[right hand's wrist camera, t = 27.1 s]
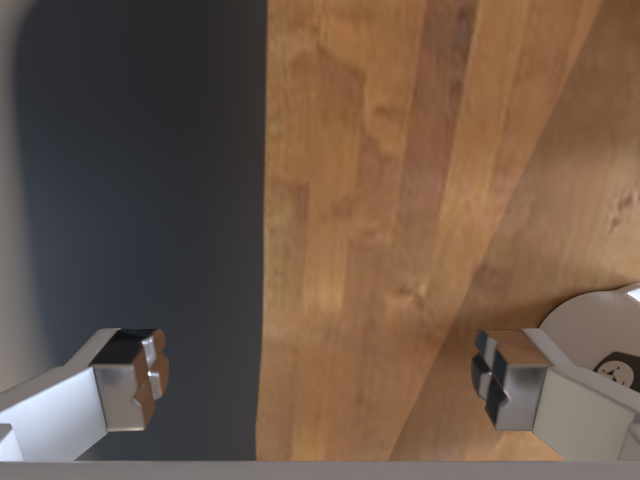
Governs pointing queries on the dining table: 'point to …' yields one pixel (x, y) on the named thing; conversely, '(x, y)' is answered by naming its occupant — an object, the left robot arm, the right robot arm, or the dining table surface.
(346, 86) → the dining table surface
